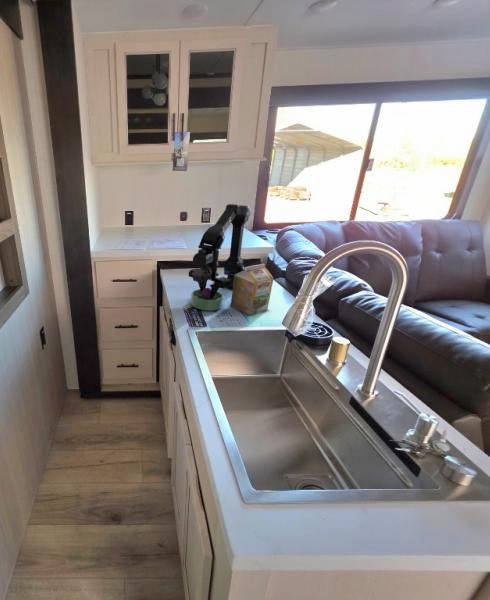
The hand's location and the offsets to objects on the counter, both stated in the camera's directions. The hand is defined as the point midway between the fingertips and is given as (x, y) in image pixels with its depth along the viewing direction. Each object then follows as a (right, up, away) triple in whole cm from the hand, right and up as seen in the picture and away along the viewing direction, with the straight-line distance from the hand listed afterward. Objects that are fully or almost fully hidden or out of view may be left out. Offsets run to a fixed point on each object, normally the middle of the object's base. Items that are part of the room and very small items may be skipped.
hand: (207, 296), depth 135 cm
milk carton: (+17, -5, -1) cm, 18 cm away
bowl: (0, -4, +2) cm, 4 cm away
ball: (0, +1, -1) cm, 1 cm away
